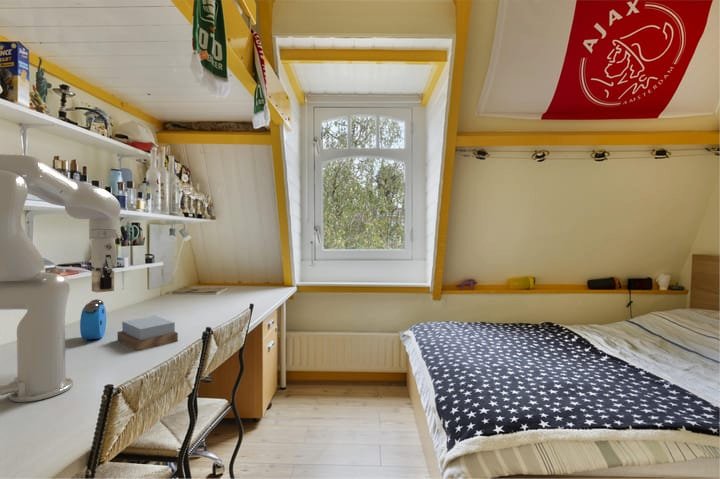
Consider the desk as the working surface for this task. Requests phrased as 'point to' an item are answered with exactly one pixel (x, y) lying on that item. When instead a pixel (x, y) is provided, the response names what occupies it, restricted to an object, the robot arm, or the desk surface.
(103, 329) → the alarm clock
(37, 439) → the desk surface
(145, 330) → the slate slab
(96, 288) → the beech block
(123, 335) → the walnut slab
